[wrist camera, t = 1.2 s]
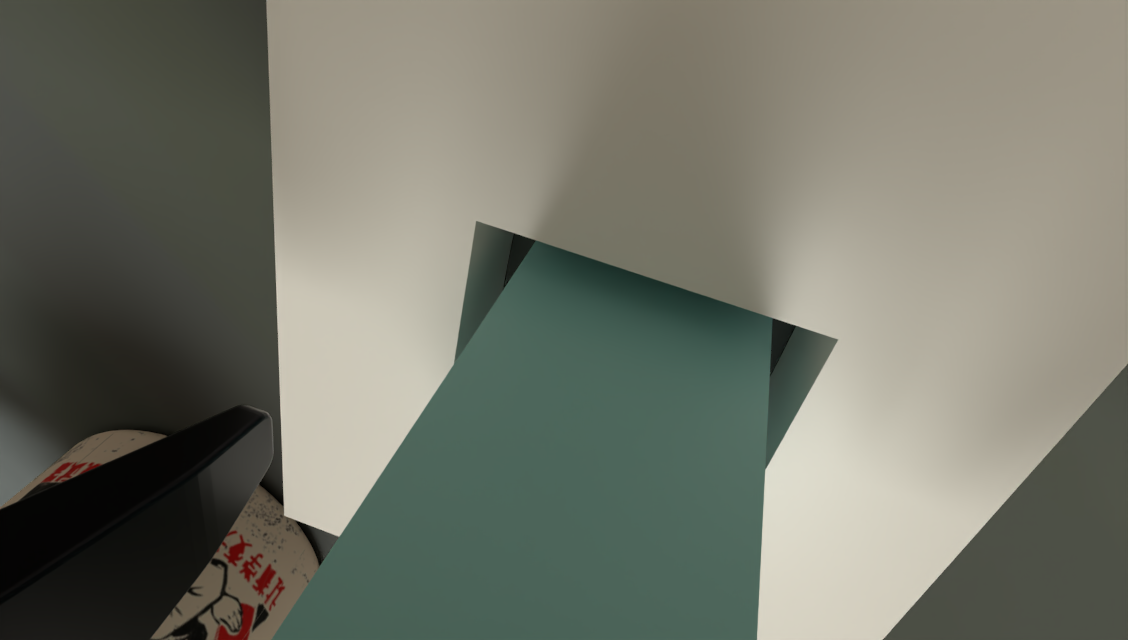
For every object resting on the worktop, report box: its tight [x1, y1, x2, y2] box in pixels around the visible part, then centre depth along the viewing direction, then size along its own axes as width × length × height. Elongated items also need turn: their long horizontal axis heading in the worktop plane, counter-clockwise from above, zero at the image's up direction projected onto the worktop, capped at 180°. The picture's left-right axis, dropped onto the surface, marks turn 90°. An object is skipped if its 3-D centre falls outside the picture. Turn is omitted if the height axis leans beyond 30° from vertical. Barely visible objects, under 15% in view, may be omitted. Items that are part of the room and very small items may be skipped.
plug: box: [271, 241, 773, 640], centre depth 10 cm, size 4×4×10 cm
